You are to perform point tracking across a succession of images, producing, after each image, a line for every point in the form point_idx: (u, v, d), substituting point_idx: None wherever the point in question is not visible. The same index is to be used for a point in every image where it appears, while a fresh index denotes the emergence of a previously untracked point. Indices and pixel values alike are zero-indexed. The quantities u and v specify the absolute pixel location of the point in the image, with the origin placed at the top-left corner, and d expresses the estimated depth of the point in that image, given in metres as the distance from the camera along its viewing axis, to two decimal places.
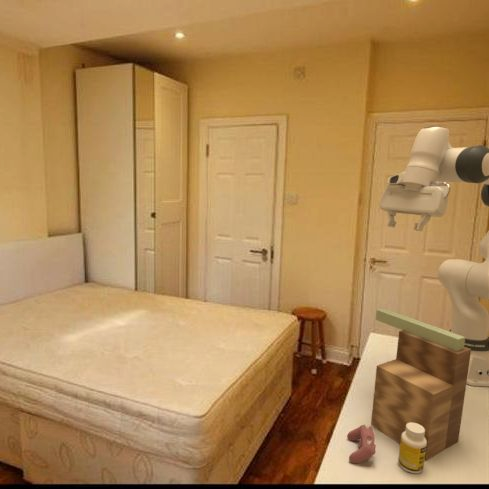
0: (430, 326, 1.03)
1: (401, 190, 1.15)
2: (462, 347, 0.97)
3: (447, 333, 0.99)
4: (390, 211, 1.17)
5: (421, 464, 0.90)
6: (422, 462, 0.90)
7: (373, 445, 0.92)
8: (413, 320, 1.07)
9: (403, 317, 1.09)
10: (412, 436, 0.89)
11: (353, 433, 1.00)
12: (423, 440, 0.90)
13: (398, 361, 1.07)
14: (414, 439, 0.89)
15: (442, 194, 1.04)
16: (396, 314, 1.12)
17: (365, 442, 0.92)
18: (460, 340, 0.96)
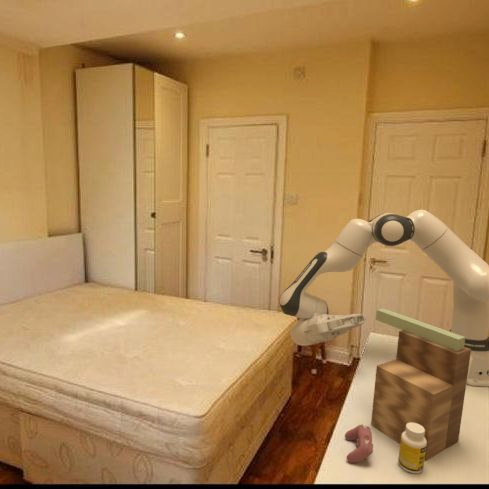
0: (430, 326, 1.03)
1: (339, 330, 1.34)
2: (462, 347, 0.97)
3: (447, 333, 0.99)
4: (356, 322, 1.31)
5: (421, 464, 0.90)
6: (422, 462, 0.90)
7: (370, 445, 0.92)
8: (413, 320, 1.07)
9: (403, 317, 1.09)
10: (412, 436, 0.89)
11: (351, 433, 1.00)
12: (423, 440, 0.90)
13: (398, 361, 1.07)
14: (414, 439, 0.89)
15: (311, 334, 1.27)
16: (396, 314, 1.12)
17: (363, 442, 0.93)
18: (460, 340, 0.96)
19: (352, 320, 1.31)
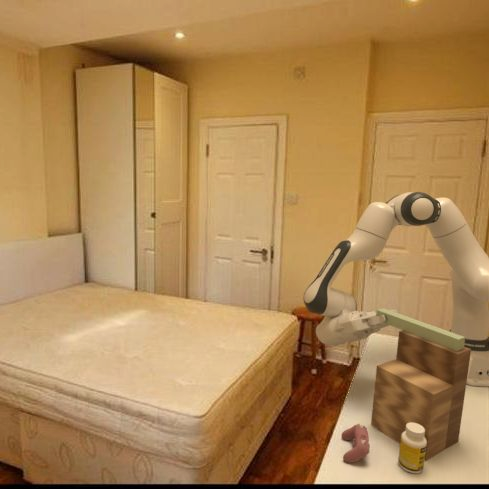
0: (430, 326, 1.03)
1: (372, 328, 1.23)
2: (462, 347, 0.97)
3: (447, 333, 0.99)
4: None
5: (421, 464, 0.90)
6: (422, 462, 0.90)
7: (367, 444, 0.92)
8: (413, 320, 1.07)
9: (403, 317, 1.09)
10: (412, 436, 0.89)
11: (347, 432, 1.00)
12: (423, 440, 0.90)
13: (398, 361, 1.07)
14: (414, 439, 0.89)
15: (343, 333, 1.16)
16: (396, 314, 1.12)
17: (359, 441, 0.93)
18: (460, 340, 0.96)
19: None
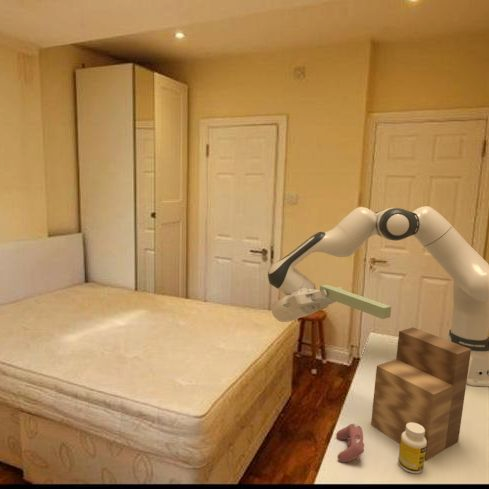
0: (363, 298, 1.12)
1: (319, 304, 1.32)
2: (388, 315, 1.06)
3: (376, 303, 1.08)
4: None
5: (421, 464, 0.90)
6: (422, 462, 0.90)
7: (361, 444, 0.92)
8: (350, 293, 1.16)
9: (342, 291, 1.19)
10: (412, 436, 0.89)
11: (342, 432, 1.00)
12: (423, 440, 0.90)
13: (398, 361, 1.07)
14: (414, 439, 0.89)
15: (289, 307, 1.25)
16: (336, 289, 1.21)
17: (354, 441, 0.93)
18: (386, 309, 1.05)
19: None
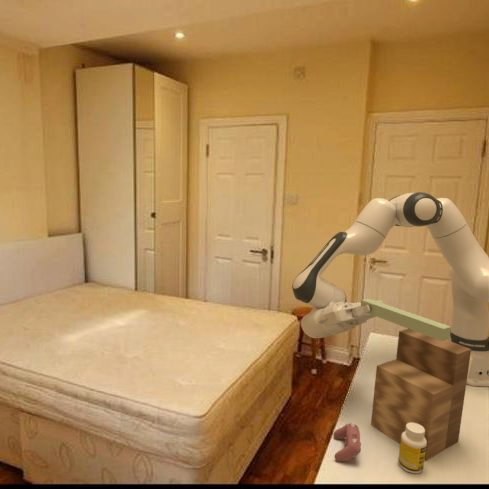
0: (415, 316, 0.99)
1: (358, 319, 1.18)
2: (448, 337, 0.93)
3: (433, 322, 0.95)
4: None
5: (421, 464, 0.89)
6: (422, 462, 0.90)
7: (358, 443, 0.92)
8: (398, 310, 1.03)
9: (388, 307, 1.05)
10: (412, 436, 0.89)
11: (339, 432, 1.00)
12: (423, 440, 0.90)
13: (398, 361, 1.07)
14: (414, 439, 0.89)
15: (327, 324, 1.11)
16: (381, 304, 1.07)
17: (350, 440, 0.93)
18: (445, 330, 0.91)
19: None
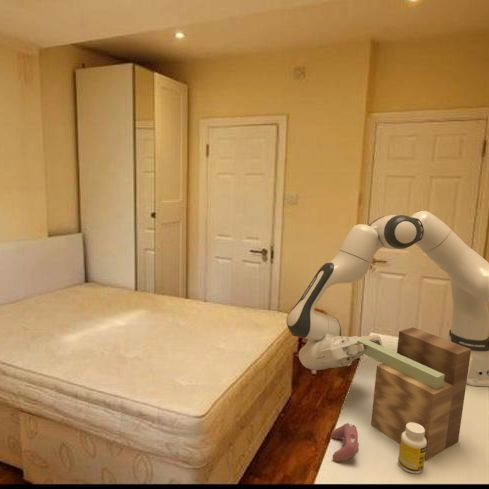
0: (410, 361, 1.01)
1: None
2: (441, 385, 0.95)
3: (427, 369, 0.97)
4: None
5: (421, 464, 0.90)
6: (422, 462, 0.90)
7: (356, 443, 0.92)
8: (393, 353, 1.05)
9: (383, 350, 1.07)
10: (412, 436, 0.89)
11: (337, 432, 1.00)
12: (423, 440, 0.90)
13: None
14: (414, 439, 0.89)
15: (324, 360, 1.13)
16: (377, 346, 1.09)
17: (348, 440, 0.93)
18: (439, 378, 0.93)
19: None
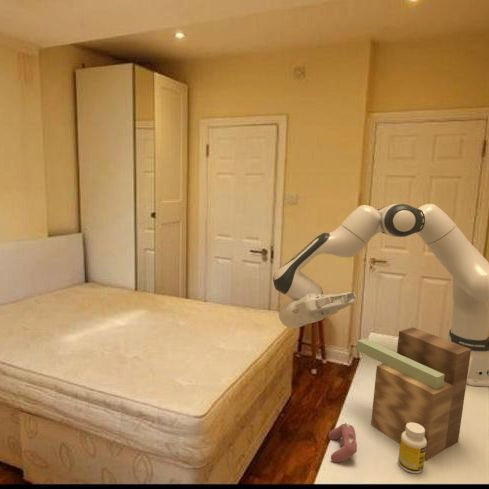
0: (410, 361, 1.01)
1: (329, 309, 1.28)
2: (441, 385, 0.95)
3: (427, 369, 0.97)
4: (347, 301, 1.25)
5: (421, 464, 0.90)
6: (422, 462, 0.90)
7: (354, 443, 0.92)
8: (393, 353, 1.05)
9: (383, 350, 1.07)
10: (412, 436, 0.89)
11: (334, 432, 1.00)
12: (423, 440, 0.90)
13: None
14: (414, 439, 0.89)
15: (299, 313, 1.21)
16: (377, 346, 1.09)
17: (346, 441, 0.93)
18: (439, 378, 0.93)
19: (342, 299, 1.25)
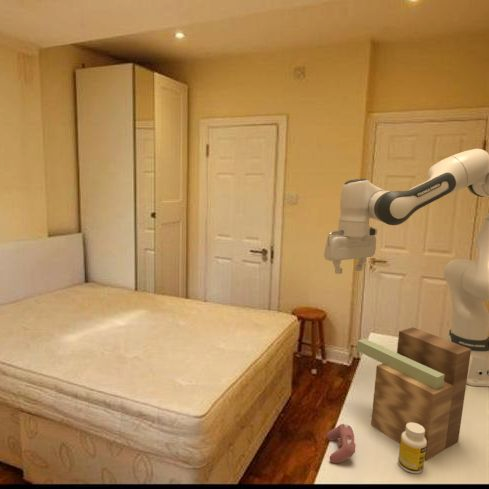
0: (410, 361, 1.01)
1: None
2: (441, 385, 0.95)
3: (427, 369, 0.97)
4: None
5: (421, 464, 0.90)
6: (422, 462, 0.90)
7: (353, 444, 0.92)
8: (393, 353, 1.05)
9: (383, 350, 1.07)
10: (412, 436, 0.89)
11: (332, 433, 1.00)
12: (423, 440, 0.90)
13: None
14: (414, 439, 0.89)
15: (326, 242, 1.24)
16: (377, 346, 1.09)
17: (345, 441, 0.92)
18: (439, 378, 0.93)
19: None
